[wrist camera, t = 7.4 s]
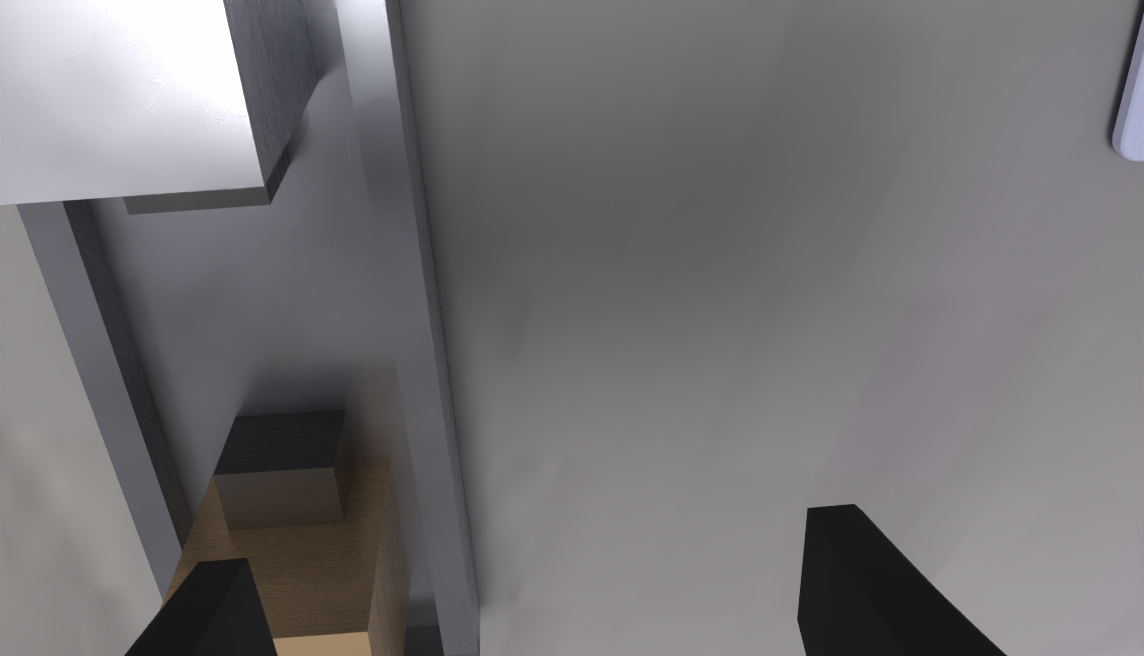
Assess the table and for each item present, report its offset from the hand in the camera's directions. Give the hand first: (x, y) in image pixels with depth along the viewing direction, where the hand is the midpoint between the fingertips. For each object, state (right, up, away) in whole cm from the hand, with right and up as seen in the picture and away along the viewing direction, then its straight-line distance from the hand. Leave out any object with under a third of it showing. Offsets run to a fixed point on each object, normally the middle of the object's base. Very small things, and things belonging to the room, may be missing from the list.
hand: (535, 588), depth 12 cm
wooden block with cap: (-6, -2, +10) cm, 12 cm away
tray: (-6, +4, +8) cm, 11 cm away
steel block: (-6, +9, +4) cm, 12 cm away
